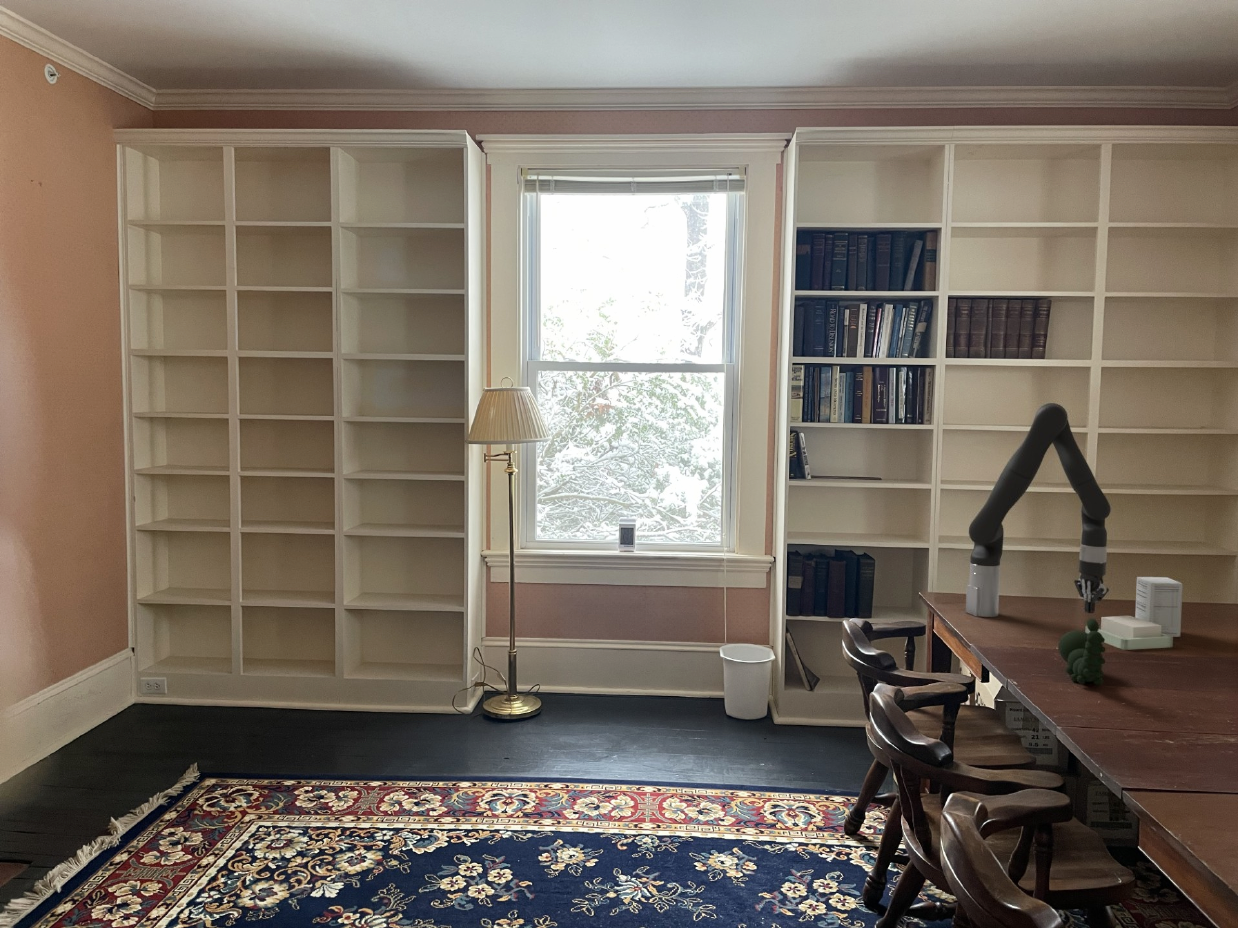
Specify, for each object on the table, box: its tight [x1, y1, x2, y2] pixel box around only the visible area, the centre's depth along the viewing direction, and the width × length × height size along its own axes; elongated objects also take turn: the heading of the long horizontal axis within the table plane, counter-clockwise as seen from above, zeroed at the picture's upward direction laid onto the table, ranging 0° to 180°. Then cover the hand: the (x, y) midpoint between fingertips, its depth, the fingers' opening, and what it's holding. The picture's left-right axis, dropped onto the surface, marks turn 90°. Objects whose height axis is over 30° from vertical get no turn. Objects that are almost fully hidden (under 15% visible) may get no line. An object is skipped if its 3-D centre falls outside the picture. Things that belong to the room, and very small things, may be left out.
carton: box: [1100, 615, 1161, 638], centre depth 258 cm, size 10×12×6 cm
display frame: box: [1084, 625, 1174, 651], centre depth 257 cm, size 16×16×3 cm
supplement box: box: [1134, 576, 1183, 638], centre depth 265 cm, size 10×9×17 cm
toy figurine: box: [1057, 617, 1107, 686], centre depth 222 cm, size 9×19×25 cm
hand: (1089, 612), depth 272 cm, fingers closed
